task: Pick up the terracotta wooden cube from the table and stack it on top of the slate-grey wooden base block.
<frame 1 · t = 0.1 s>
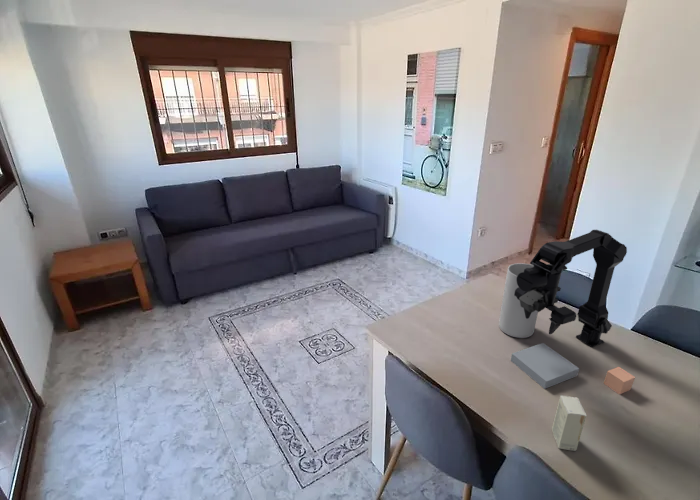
hand: (538, 325, 118), 15 cm above the table, tool pointing down, fingers open, 9 cm apart
slate base: (542, 367, 121), on the table
terracotta cube: (616, 386, 113), on the table
cylinder vase: (515, 329, 141), on the table
skincare box: (563, 440, 97), on the table
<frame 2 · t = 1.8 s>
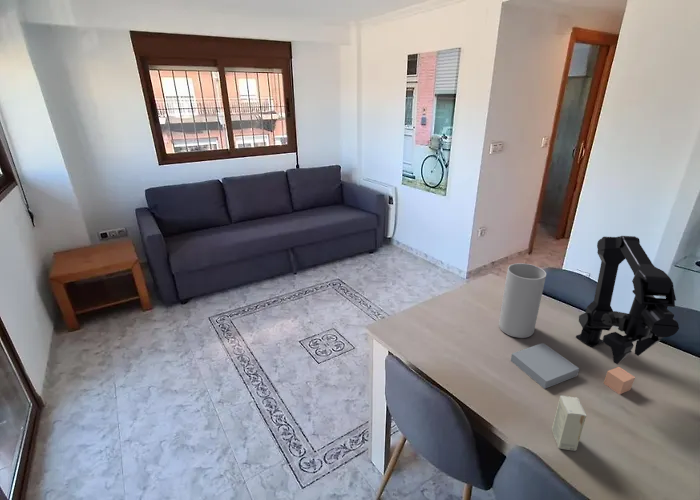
hand: (626, 359, 109), 11 cm above the table, tool pointing down, fingers open, 9 cm apart
nothing on the table moved.
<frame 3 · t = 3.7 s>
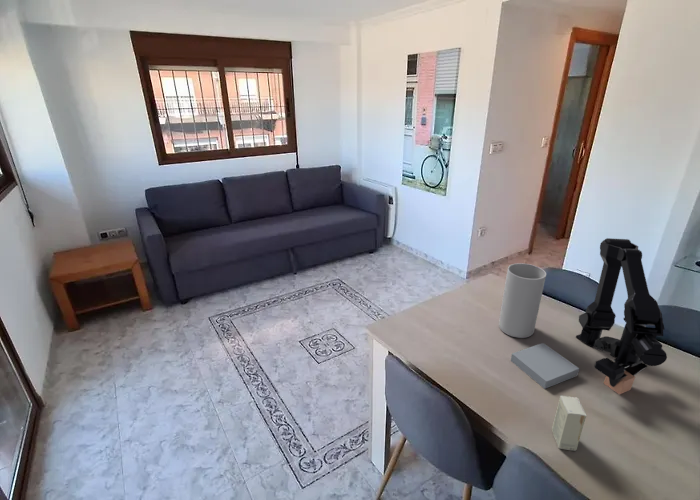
hand: (617, 383, 112), 1 cm above the table, tool pointing down, fingers closed on terracotta cube, 5 cm apart
terracotta cube: (616, 386, 113), on the table, touching gripper
everything else where it was.
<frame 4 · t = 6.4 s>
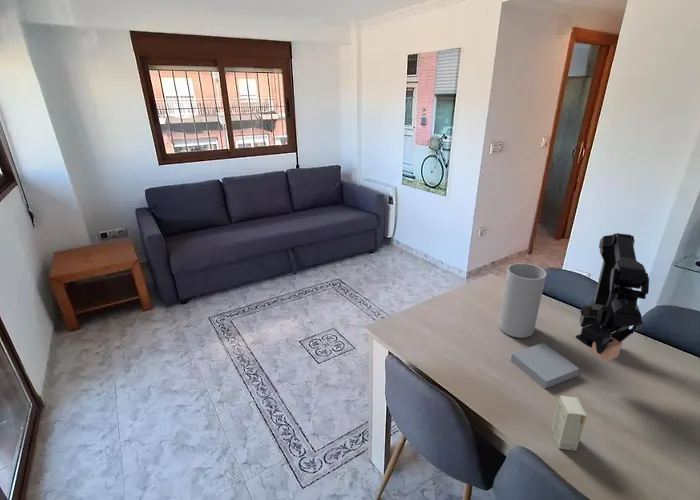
hand: (604, 350, 110), 12 cm above the table, tool pointing down, fingers closed on terracotta cube, 5 cm apart
terracotta cube: (604, 354, 111), point 11 cm above the table, touching gripper
everything else where it was.
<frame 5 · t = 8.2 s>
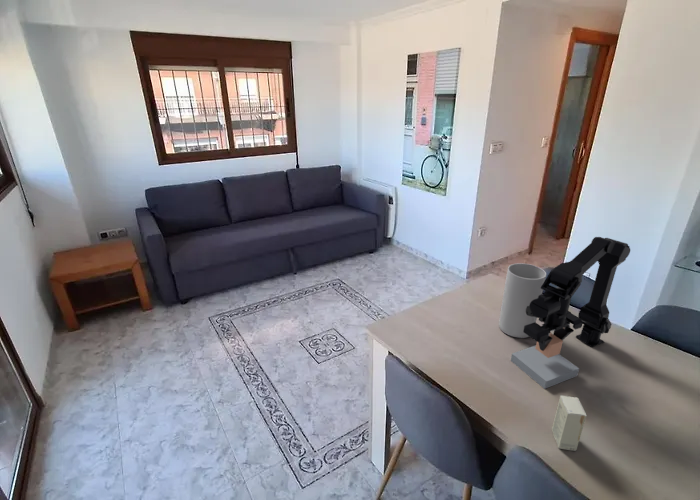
hand: (547, 347, 118), 8 cm above the table, tool pointing down, fingers closed on terracotta cube, 5 cm apart
terracotta cube: (547, 351, 118), point 7 cm above the table, touching gripper
everything else where it was.
when the fingers open (5 cm above the table, at t = 9.5 s): terracotta cube drops 1 cm, resting on slate base.
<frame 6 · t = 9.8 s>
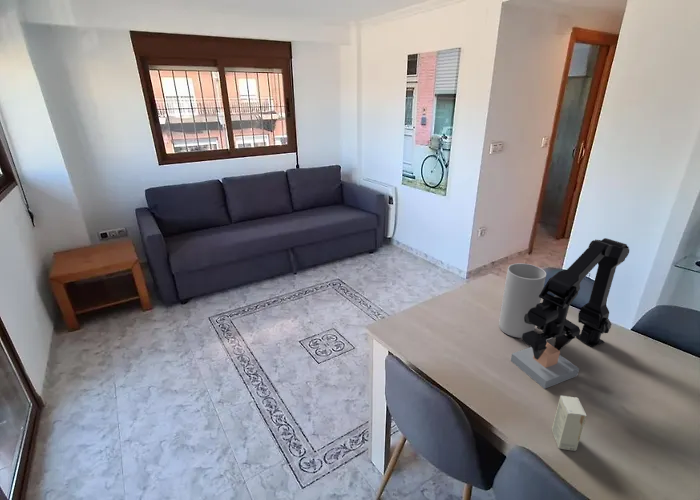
hand: (546, 355, 119), 5 cm above the table, tool pointing down, fingers open, 8 cm apart
terracotta cube: (544, 360, 120), point 3 cm above the table, touching slate base
everything else where it was.
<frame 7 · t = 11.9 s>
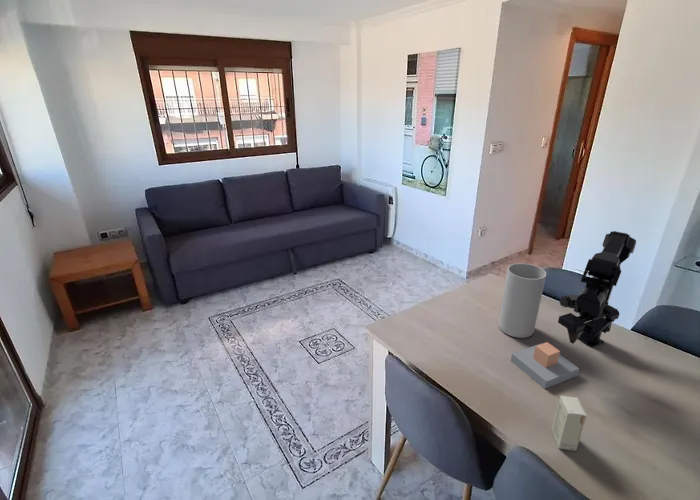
hand: (582, 339, 116), 12 cm above the table, tool pointing down, fingers open, 9 cm apart
nothing on the table moved.
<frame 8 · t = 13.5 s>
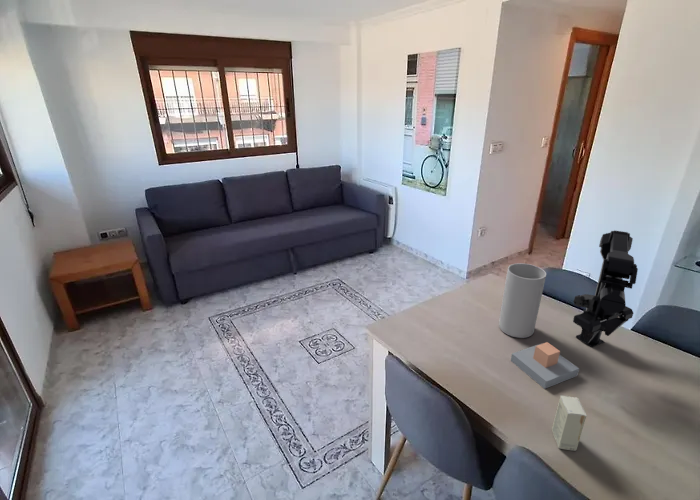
hand: (596, 338, 115), 12 cm above the table, tool pointing down, fingers open, 9 cm apart
nothing on the table moved.
at the end: terracotta cube inside the target area on the slate base (0.1 cm from its centre), point 3.0 cm above the slate base's base; terracotta cube tilted 0°; the gripper is holding nothing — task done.
